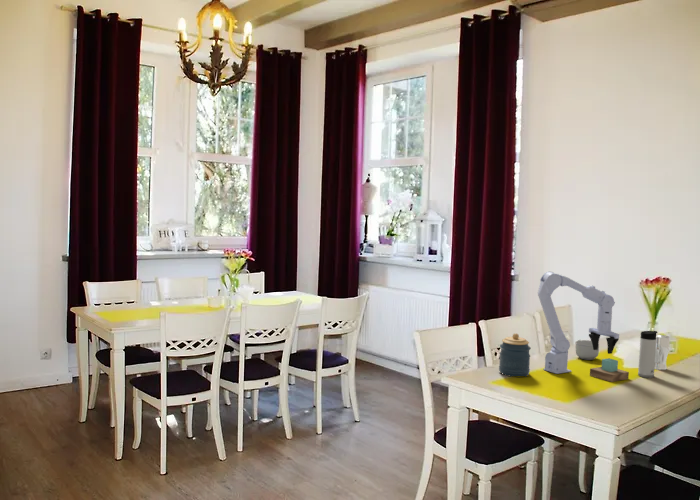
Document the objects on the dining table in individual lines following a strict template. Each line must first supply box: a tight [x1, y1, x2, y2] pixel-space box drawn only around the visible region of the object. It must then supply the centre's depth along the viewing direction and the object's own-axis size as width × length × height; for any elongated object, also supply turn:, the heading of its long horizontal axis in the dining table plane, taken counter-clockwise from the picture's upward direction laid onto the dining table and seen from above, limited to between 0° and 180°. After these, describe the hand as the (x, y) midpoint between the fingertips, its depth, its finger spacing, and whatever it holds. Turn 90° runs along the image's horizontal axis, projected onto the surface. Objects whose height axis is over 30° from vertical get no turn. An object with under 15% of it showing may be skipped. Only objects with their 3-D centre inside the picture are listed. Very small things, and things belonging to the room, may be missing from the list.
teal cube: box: [601, 358, 619, 372], centre depth 274 cm, size 4×4×4 cm
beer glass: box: [654, 334, 670, 371], centre depth 292 cm, size 7×7×15 cm
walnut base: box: [589, 366, 630, 383], centre depth 275 cm, size 11×11×3 cm
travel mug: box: [637, 330, 658, 379], centre depth 277 cm, size 6×7×20 cm
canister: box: [498, 333, 531, 377], centre depth 276 cm, size 13×13×18 cm
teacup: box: [575, 339, 600, 361], centre depth 310 cm, size 14×11×8 cm
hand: (602, 351), depth 282 cm, fingers open, 7 cm apart
